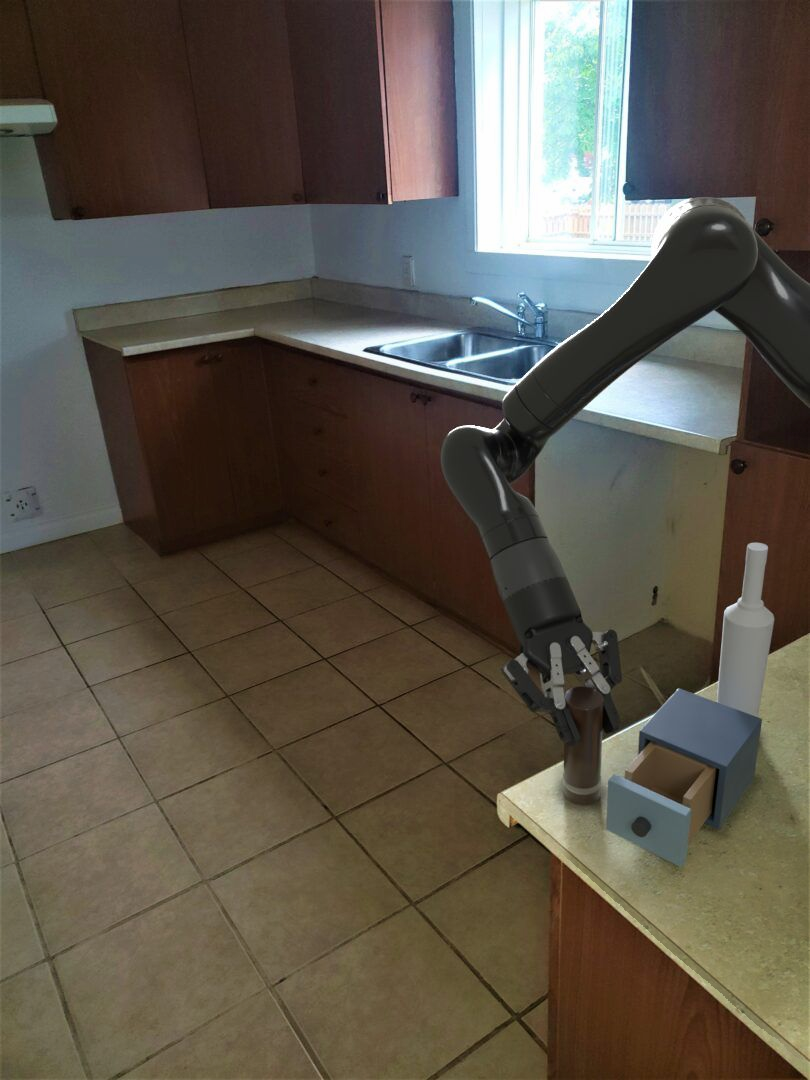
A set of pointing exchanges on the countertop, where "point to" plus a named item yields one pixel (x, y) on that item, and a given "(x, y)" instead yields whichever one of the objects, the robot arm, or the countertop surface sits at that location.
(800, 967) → the countertop surface
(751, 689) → the bottle
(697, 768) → the drawer
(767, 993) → the countertop surface
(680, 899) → the countertop surface
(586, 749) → the pepper mill
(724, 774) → the cabinet
